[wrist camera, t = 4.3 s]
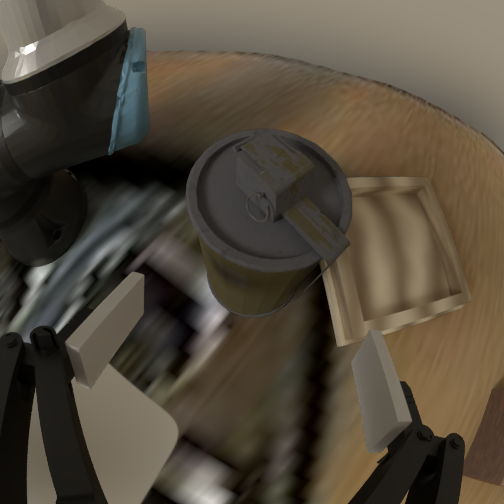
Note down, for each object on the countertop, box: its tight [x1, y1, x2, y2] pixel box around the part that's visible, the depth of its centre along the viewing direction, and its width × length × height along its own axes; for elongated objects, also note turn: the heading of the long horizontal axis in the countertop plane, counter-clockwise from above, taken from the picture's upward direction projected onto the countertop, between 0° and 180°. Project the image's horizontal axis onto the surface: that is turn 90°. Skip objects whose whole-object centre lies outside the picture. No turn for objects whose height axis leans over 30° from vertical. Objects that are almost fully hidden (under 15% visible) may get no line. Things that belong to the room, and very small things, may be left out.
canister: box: [186, 129, 352, 318], centre depth 24 cm, size 11×10×20 cm
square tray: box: [319, 177, 472, 347], centre depth 34 cm, size 20×20×4 cm
